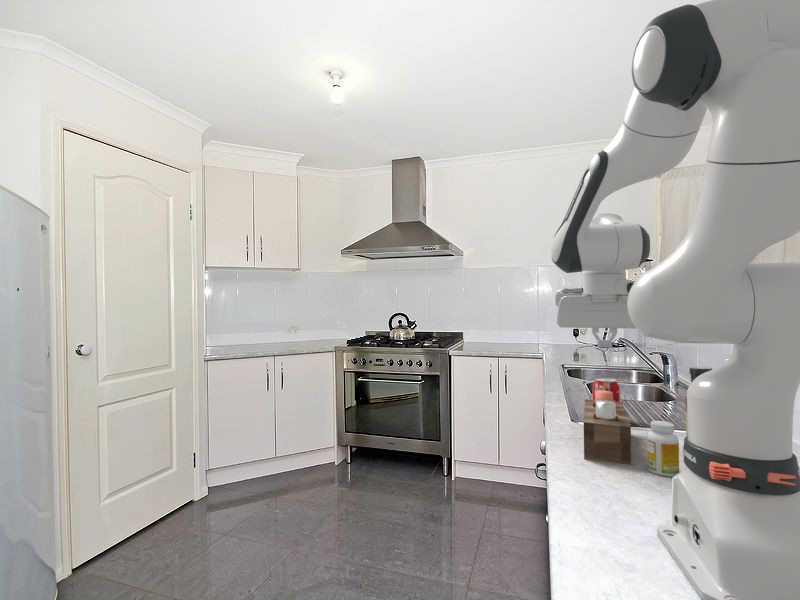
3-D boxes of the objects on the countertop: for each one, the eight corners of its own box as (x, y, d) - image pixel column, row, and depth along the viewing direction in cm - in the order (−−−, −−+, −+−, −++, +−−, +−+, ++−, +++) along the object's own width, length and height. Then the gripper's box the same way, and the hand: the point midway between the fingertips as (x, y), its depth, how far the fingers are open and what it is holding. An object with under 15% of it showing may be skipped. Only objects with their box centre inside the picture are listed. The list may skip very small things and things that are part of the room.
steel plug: (616, 436, 90) (615, 404, 90) (596, 434, 92) (595, 403, 92) (615, 431, 94) (614, 401, 94) (596, 429, 95) (595, 399, 95)
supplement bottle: (682, 472, 82) (682, 423, 82) (674, 479, 78) (673, 428, 78) (652, 464, 86) (651, 418, 86) (643, 471, 82) (642, 422, 82)
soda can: (588, 420, 119) (587, 379, 119) (600, 416, 123) (599, 376, 124) (613, 425, 114) (612, 382, 114) (624, 421, 118) (624, 379, 118)
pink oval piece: (613, 422, 101) (613, 394, 101) (595, 420, 103) (595, 392, 103) (612, 418, 105) (612, 391, 105) (595, 416, 106) (595, 389, 106)
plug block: (631, 465, 85) (630, 427, 85) (584, 459, 89) (583, 422, 89) (622, 433, 107) (622, 402, 107) (585, 428, 111) (584, 399, 111)
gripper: (554, 288, 95) (554, 347, 95) (657, 285, 86) (658, 351, 86) (556, 288, 100) (556, 345, 100) (653, 286, 92) (654, 348, 92)
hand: (604, 348), depth 93 cm, fingers closed
